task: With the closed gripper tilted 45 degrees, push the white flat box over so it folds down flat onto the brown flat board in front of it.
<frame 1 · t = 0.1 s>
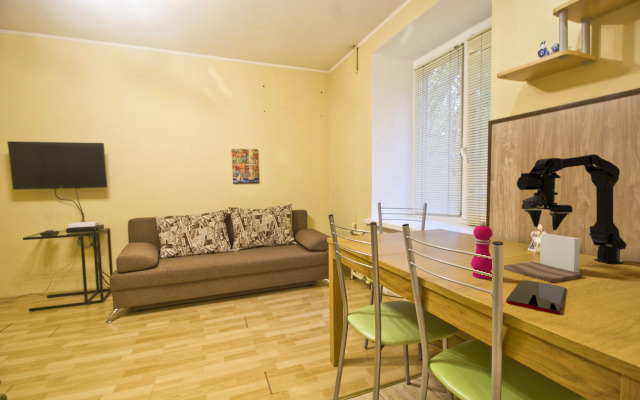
hand: (544, 228, 121), 15 cm above the table, tool pointing down, fingers open, 9 cm apart
white flat box: (558, 269, 114), on the table
brown flat board: (540, 272, 111), on the table
pepper mill: (482, 277, 107), on the table
smartphone: (537, 298, 89), on the table
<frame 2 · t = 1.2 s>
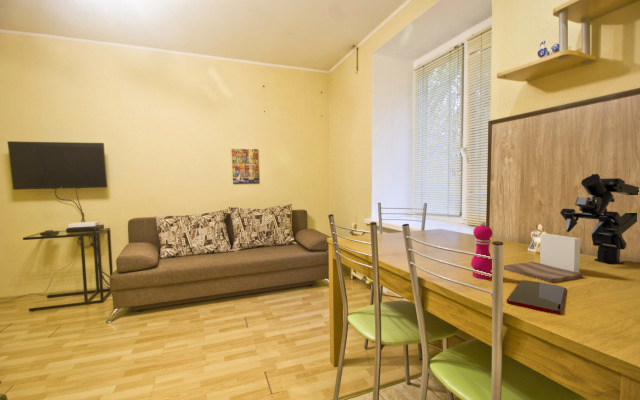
hand: (579, 233, 117), 13 cm above the table, tool tilted 45°, fingers open, 8 cm apart
nothing on the table moved.
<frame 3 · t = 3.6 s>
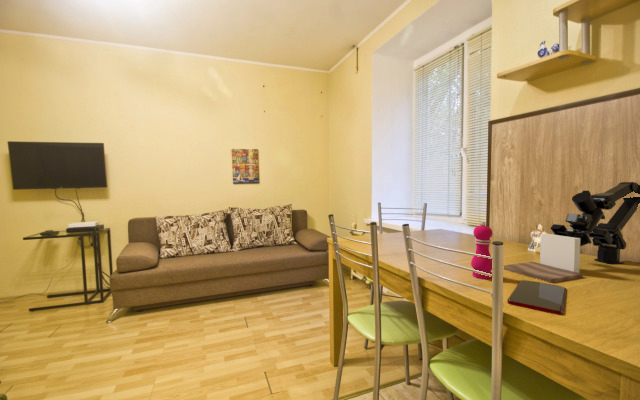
hand: (569, 250, 115), 7 cm above the table, tool tilted 45°, fingers closed
nothing on the table moved.
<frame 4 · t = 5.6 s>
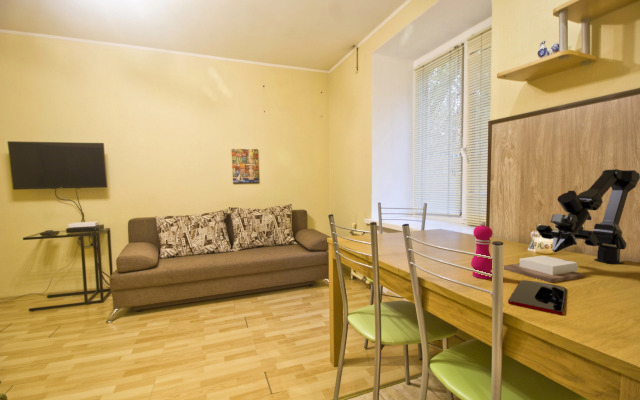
hand: (553, 251, 113), 7 cm above the table, tool tilted 45°, fingers closed
white flat box: (559, 262, 114), point 3 cm above the table, tilted 90°, touching brown flat board
everything else where it was.
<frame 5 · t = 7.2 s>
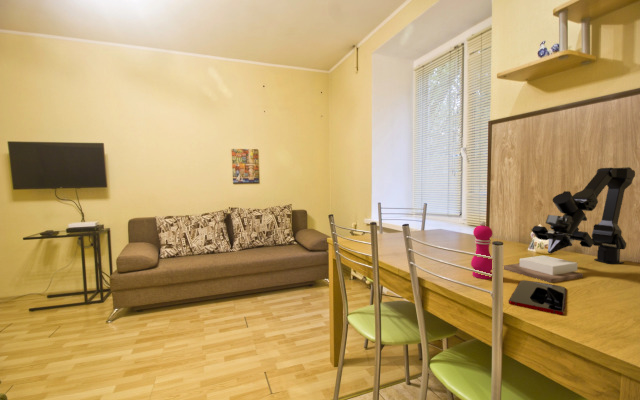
hand: (549, 252, 112), 7 cm above the table, tool tilted 45°, fingers closed
nothing on the table moved.
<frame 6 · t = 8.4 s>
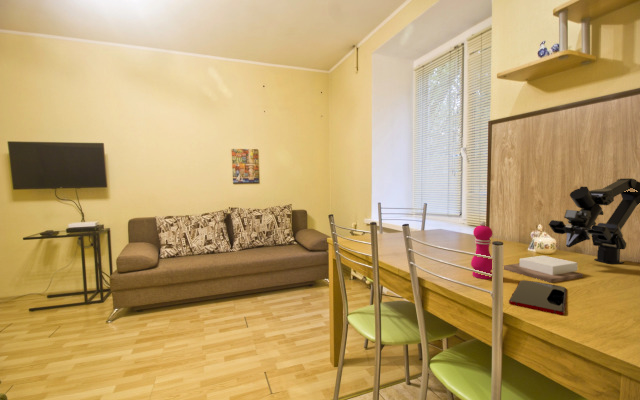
hand: (567, 246, 115), 9 cm above the table, tool tilted 45°, fingers closed
nothing on the table moved.
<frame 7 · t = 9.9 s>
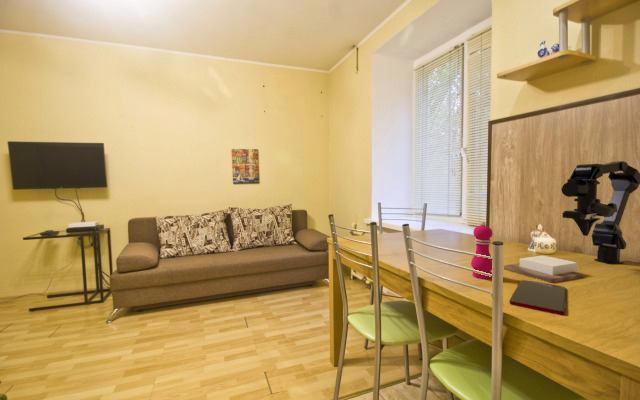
hand: (585, 235, 118), 12 cm above the table, tool pointing down, fingers closed
nothing on the table moved.
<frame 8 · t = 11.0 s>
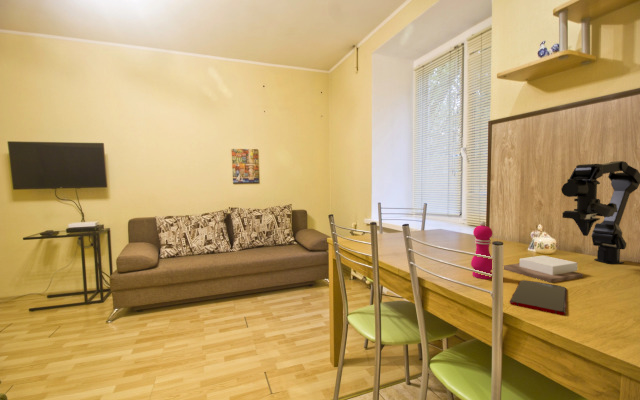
hand: (585, 235, 118), 12 cm above the table, tool pointing down, fingers closed
nothing on the table moved.
at the end: white flat box tilted 90°; white flat box touching brown flat board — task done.
